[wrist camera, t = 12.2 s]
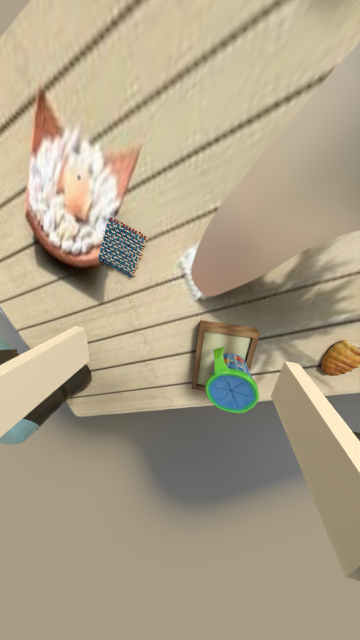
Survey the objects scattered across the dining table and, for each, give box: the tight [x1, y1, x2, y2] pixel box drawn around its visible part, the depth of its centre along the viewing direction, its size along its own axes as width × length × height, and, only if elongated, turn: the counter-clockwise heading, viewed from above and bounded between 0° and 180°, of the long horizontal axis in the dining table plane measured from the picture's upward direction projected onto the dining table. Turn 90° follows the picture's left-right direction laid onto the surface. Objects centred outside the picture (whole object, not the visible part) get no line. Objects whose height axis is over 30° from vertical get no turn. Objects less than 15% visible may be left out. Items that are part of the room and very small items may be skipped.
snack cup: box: [205, 347, 259, 413], centre depth 39 cm, size 16×10×10 cm
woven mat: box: [99, 217, 147, 277], centre depth 40 cm, size 10×11×2 cm
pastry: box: [321, 340, 360, 376], centre depth 39 cm, size 9×7×4 cm
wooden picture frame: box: [192, 321, 260, 391], centre depth 45 cm, size 14×20×4 cm
